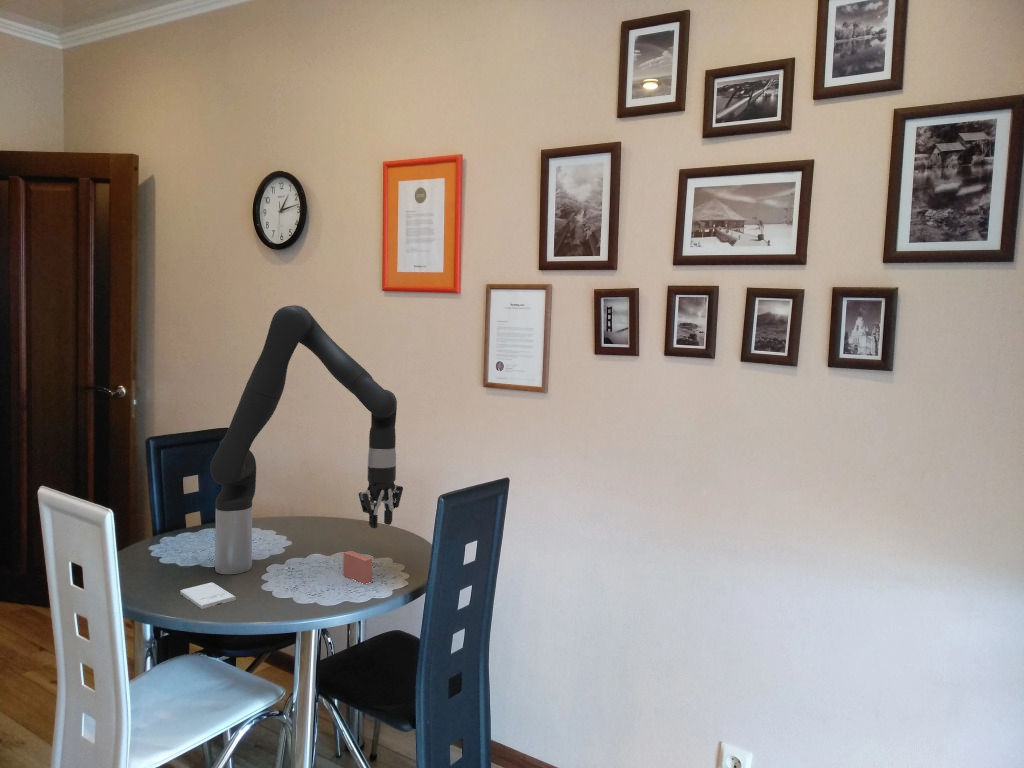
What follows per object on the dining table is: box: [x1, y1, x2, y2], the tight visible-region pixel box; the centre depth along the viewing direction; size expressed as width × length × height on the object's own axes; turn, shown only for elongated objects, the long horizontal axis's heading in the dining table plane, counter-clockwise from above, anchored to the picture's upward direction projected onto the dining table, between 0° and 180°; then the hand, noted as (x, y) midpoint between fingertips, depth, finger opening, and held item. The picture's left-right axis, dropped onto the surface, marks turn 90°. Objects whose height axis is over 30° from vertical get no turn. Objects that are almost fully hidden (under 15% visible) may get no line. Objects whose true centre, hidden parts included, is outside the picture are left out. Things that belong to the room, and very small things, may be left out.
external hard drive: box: [179, 582, 237, 610], centre depth 168 cm, size 2×8×12 cm
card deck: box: [342, 550, 373, 585], centre depth 183 cm, size 9×2×6 cm, turn 50°
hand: (380, 525), depth 187 cm, fingers open, 4 cm apart
